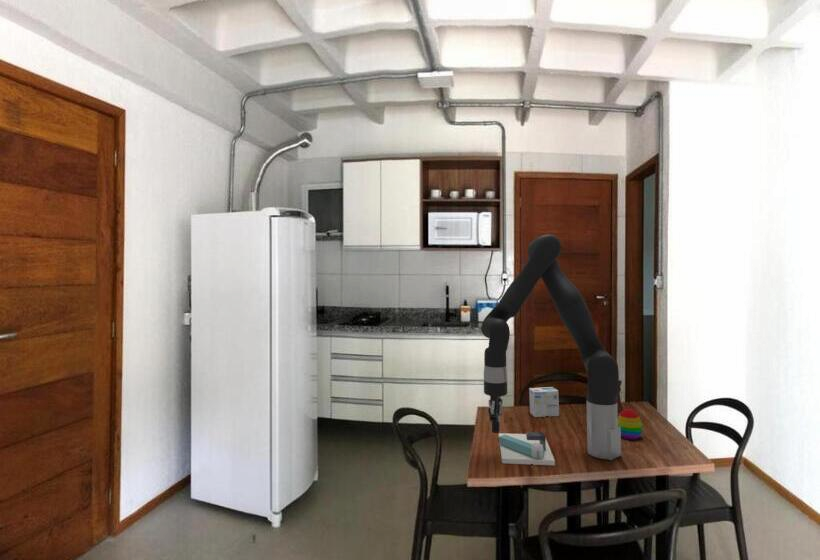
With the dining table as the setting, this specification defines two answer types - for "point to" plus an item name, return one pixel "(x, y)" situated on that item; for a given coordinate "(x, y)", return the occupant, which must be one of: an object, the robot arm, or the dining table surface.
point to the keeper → (537, 438)
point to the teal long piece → (522, 446)
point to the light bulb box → (544, 402)
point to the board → (520, 458)
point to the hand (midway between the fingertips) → (495, 432)
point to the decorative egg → (630, 424)
